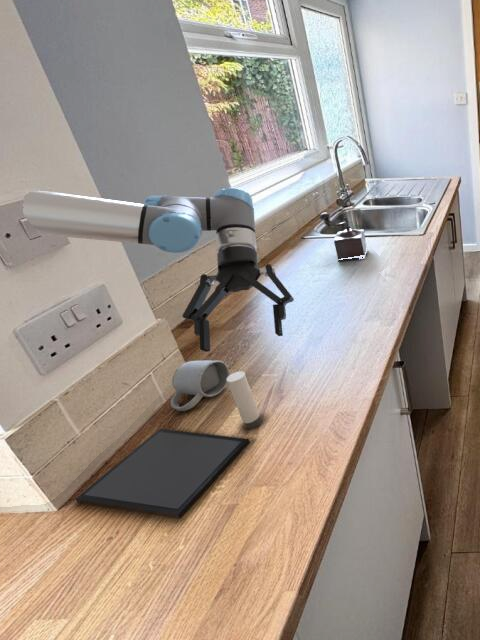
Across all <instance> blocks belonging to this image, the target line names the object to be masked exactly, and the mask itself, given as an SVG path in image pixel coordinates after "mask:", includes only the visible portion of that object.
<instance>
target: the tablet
mask: <svg viewBox="0 0 480 640" xmlns="http://www.w3.org/2000/svg"><path fill="white" fill-rule="evenodd" d="M249 444H250V440H249V438H245V437H244V438H243V437H235V436H225V435H217V434H211V433H199V432H191V431H183V430H175V429H166V428H159V429H157V431H155V432H154V433H152V435H151V436H149V437H148V438H147V439H146V440H145V441H144V442H142V443H141V444H140V445H138V446H137V447H136V448H135V449H134V450H133V451H131V452H130V453H128V454H127V456H125V457H124V458H123V459H122V460H120V461H119V462H117V464H116V465H114V466H113V467H112V468H111V469H110V470H108V471H107V472H106V473H105V474H103V475H102V476H101V477H100V478H99V479H97V480H96V481H95V482H94V483H93V484H91V485H90V486H89V487H88V488H87V489H85V490H84V491H83V492H82V493H80V494H79V495H78V496H77V497H75V501H76V502H77V504H83V505H88V506H96V507H101V508H109V509H114V510H121V511H128V512H134V513H141V514H148V515H154V516H160V517H166V518H172V519H179V520H180V519H182V517H183V516H184V515H185V514H186V513H187V512H188V511H189V510H190V509H191V508H192V507H193V506H194V504H195V503H196V502H197V501H198V500H199V499H200V498H201V497H202V496H203V495H204V493H205V492H206V491H207V490H208V489H209V488H210V487H211V486H212V485H213V483H214V482H215V481H216V480H217V479H218V478H219V477H220V476H221V475H222V474H223V472H225V470H227V468H228V467H229V466H230V465H232V463H233V462H234V461H235V459H237V457H238V456H239V455H240V454H241V453H242V452H243V451H244V450H245V449H246V448H247V446H248V445H249Z"/></svg>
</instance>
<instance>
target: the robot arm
mask: <svg viewBox="0 0 480 640" xmlns="http://www.w3.org/2000/svg"><path fill="white" fill-rule="evenodd" d="M38 190H39V191H31V192H29V193H28V194H26V195H25V196H24V199H23V201H24V203H23V207H24V208H23V213H24V215H25V217H26V219H27V220H28V221H29V222H30V224H31V225H32V226H33V227H34V228H35V229H37V230H39V231H40V232H43V233H45V234H48V235H47V236H50V235H52V236H51V237H61V238H73V239H82V240H83V239H84V240H85V239H86V240H94V241H95V240H96V241H104V242H105V241H106V242H117V243H130V244H140V245H141V244H142V245H150V246H154V247H156V248H158V249H159V250H161V251H163V252H166V253H173V254H179V253H184V252H188V251H189V250H191V249H193V248H194V247H195V246H196V245H197V244H198V242H199V240H200V238H201V237H202V235H203V234H202V233H203V232H204V231H205V232H207V231H208V232H210V231H215V232H216V233H215V234H216V236H215V237H216V251H217V253H216V255H217V256H216V259H217V260H216V261H217V273H216V274H215V275H207V274H205V273H203V274H201V275H200V278H199V284H198V286H197V288H196V289H195V292H194V294H193V296H192V297H191V299H190V301H189V303H188V304H187V306H186V308H185V310H184V312H183V314H182V318H183V319H185V320H187V321H189V322H193V333H194V335H195V336H197V337H199V350H201V351H202V352H206V353H207V352H208V353H209V352H211V337H210V336H211V335H210V334H211V333H210V332H211V331H210V321H209V319H207V318H208V317H209V316H210V314H211V313H212V312H213V311H214V310H215V309H216V307H217V306H218V305H219V304H220V303H221V301H222V300H223V299H224V298H225V297H227V296H228V295H229V294H230V293H231V292H232V293H238V292H240V291H249V290H250V289H251V288H255V289H256V290H257V291H259V292H260V293H261V294H263V295H264V296H265V297H266V298H268V299H270V300H271V301H272V302H274V303H275V304H272V311H273V312H272V313H273V322H274V334H275V335H277V336H278V337H283V336H284V334H283V323H282V321H283V320H286V318H287V312H286V311H287V309H286V305H288V304H289V303H293V302H294V301H295V298H294V297H293V295H292V294H291V293H290V292H289V290H288V289H287V288H286V286H285V285H284V284H283V282H281V280H280V279H279V278H278V277H277V274H276V270H275V268H274V267H273V265H272V264H270V263H267V264H266V265H265V266H263V267H259V259H258V258H259V257H258V251H257V248H258V247H257V236H256V223H255V221H256V220H255V208H254V204H253V198H252V195H251V194H250V193H249V192H248V191H246V190H245V189H242V188H238V187H227V188H221V189H218V190H217V191H215V194H214V197H195V196H176V195H175V196H174V195H170V194H169V195H168V194H165V195H149V196H147V197H146V198H145V200H144V203H137V202H136V203H135V202H130V201H123V200H115V199H109V198H102V197H95V196H88V195H79V194H74V193H73V194H72V193H64V192H57V191H50V190H44V191H40V190H41V189H38ZM262 275H264V277H268V279H270V280H271V282H272V283H273V284H274V285H275V286H276V288H277V290H279V292H280V293H281V294H282V296H283V297H280V296H278V295H277V294H276V293H275V292H273V291H272V290H270V289H269V288H268V287H266V286H265V285H264V284H262V283H261V282H260V281H259V278H260V277H261V276H262ZM216 282H218V285H216V286H215V288H214V291H213V292H212V294H210V295H209V293H210V291H211V289H212V287H213V286H214V285H215V283H216ZM208 295H209V297H208ZM207 297H208V298H207ZM206 298H207V299H206Z"/></svg>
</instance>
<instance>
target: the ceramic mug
mask: <svg viewBox="0 0 480 640" xmlns="http://www.w3.org/2000/svg"><path fill="white" fill-rule="evenodd" d="M229 375H230V370H229V367H228V365H227V364H226V363H225V362H224V361H222V360H189V361H186V362H184V363H182V364H181V365H179V367H177V368H176V369H175V371H174V373H173V375H172V379H171V381H172V387H173V389H174V390H175V393H174V394H173V396H172V397H171V400H170V406H171V407H172V408H173V409H174V410H176V411H178V412H187V411H188V410H190V409H192V408H194V407H195V406H196V405H197V404H198V403H200V401H201V400H202V399H203V397H205V398H212V397H215V396H217V395H219V394H220V393H221V392H222V391H223V390H224V389H225V388H226V386H227V385H228V383H227V380H226V379H227V377H228V376H229ZM182 395H189V396H190V395H191V396H194V397H193V398H192V399H191V400H189V401H188V402H187V403H186V404H184V405H182V406H180V405H179V404H178V402H179V400H180V398H181V397H182Z"/></svg>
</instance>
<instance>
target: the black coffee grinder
mask: <svg viewBox="0 0 480 640" xmlns="http://www.w3.org/2000/svg"><path fill="white" fill-rule="evenodd" d="M330 216H331V215H330V213H329V212H322V213H321V214H320V215H319V219H320V220H321V221H322V222H323V223H324V225H325V226H327V227H328V228H335V227H339V226H340V227H341V226H343V225H345V227H346V228H345V229H344V230H342V231H338V232H337V233H336V235H335V237H334V239H333V243H334V247H335V251H336V257H337V261H338V263H346V262H355V261H362V260H361V259H360V260H359V258H352V259H343V260H338V259H341V258H348V257H354V256H360V255H365V252H366V247H367V248H368V246H367V240H366V234H365V230H364V228H362V229H355V228H351V226H349V220H348V217H347V216H345V217H343V220H344V221H342V222H339V223H335V224H331V223H332V221H331V220H330V219H331V217H330ZM362 258H363V257H362Z"/></svg>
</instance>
